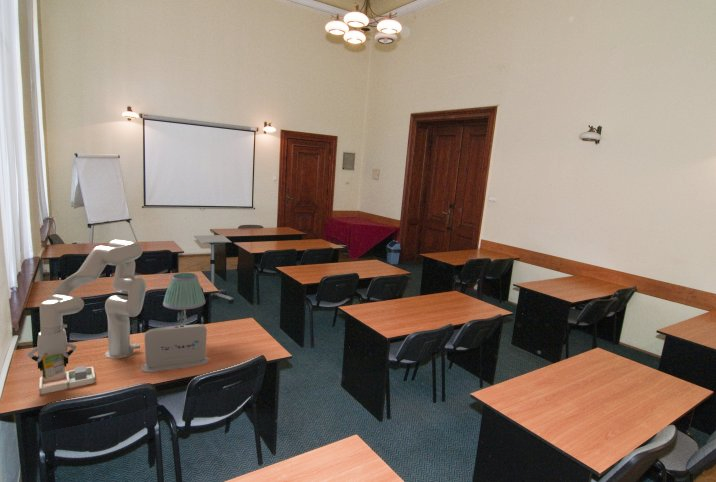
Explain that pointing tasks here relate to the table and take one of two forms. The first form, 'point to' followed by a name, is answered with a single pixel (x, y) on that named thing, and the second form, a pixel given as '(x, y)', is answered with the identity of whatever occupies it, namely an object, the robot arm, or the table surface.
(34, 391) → the table surface
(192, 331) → the wireless router
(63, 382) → the divided tray
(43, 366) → the crayon box
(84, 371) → the grey block
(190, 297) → the table lamp
